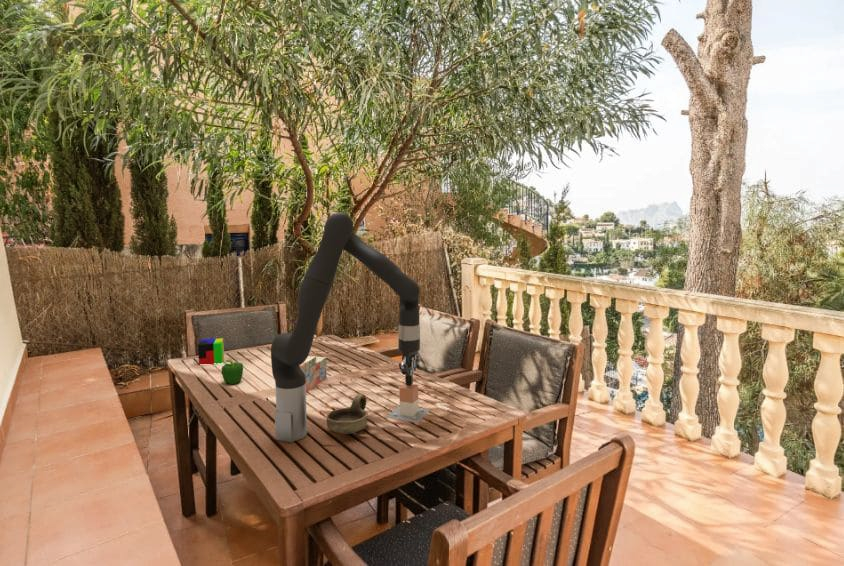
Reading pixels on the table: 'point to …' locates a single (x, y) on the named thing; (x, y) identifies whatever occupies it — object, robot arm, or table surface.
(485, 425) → the table surface
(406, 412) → the base cube
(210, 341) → the puzzle toy
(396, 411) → the plate
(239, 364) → the bell pepper
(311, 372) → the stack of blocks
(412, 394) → the rust cube
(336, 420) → the bowl
